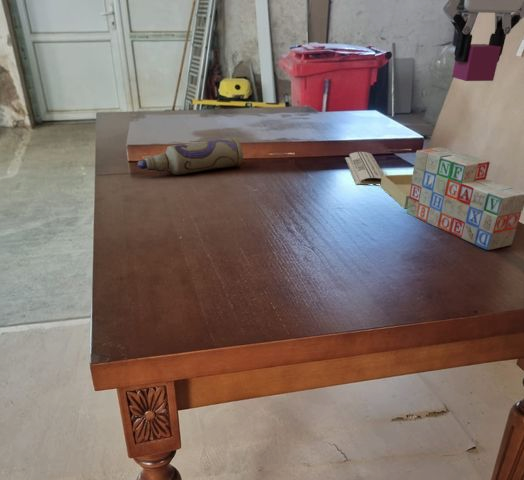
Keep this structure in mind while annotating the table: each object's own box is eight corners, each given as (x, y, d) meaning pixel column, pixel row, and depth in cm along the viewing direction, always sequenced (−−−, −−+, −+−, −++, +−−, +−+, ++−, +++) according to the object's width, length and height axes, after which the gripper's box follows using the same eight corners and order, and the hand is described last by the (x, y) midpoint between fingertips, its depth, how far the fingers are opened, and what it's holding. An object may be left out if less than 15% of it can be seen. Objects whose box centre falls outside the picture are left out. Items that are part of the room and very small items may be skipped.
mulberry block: (478, 76, 92) (485, 44, 89) (493, 80, 88) (501, 46, 85) (451, 77, 91) (458, 44, 89) (465, 81, 87) (473, 46, 84)
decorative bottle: (230, 161, 135) (230, 134, 131) (244, 169, 130) (244, 141, 126) (133, 174, 124) (129, 144, 121) (143, 182, 119) (140, 152, 115)
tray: (426, 185, 121) (428, 173, 120) (455, 206, 109) (458, 194, 108) (379, 186, 119) (381, 175, 118) (404, 208, 108) (406, 195, 106)
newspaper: (386, 185, 120) (387, 177, 119) (355, 184, 120) (356, 176, 119) (371, 158, 140) (372, 151, 139) (344, 158, 140) (345, 151, 139)
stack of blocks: (512, 245, 92) (534, 174, 85) (487, 251, 90) (507, 179, 83) (429, 208, 108) (441, 145, 101) (405, 212, 105) (416, 148, 98)
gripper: (542, -73, 82) (509, 59, 93) (441, -77, 80) (419, 59, 90) (573, -78, 76) (535, 63, 86) (465, -83, 74) (439, 64, 84)
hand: (476, 60), depth 88 cm, fingers closed on mulberry block, 5 cm apart
